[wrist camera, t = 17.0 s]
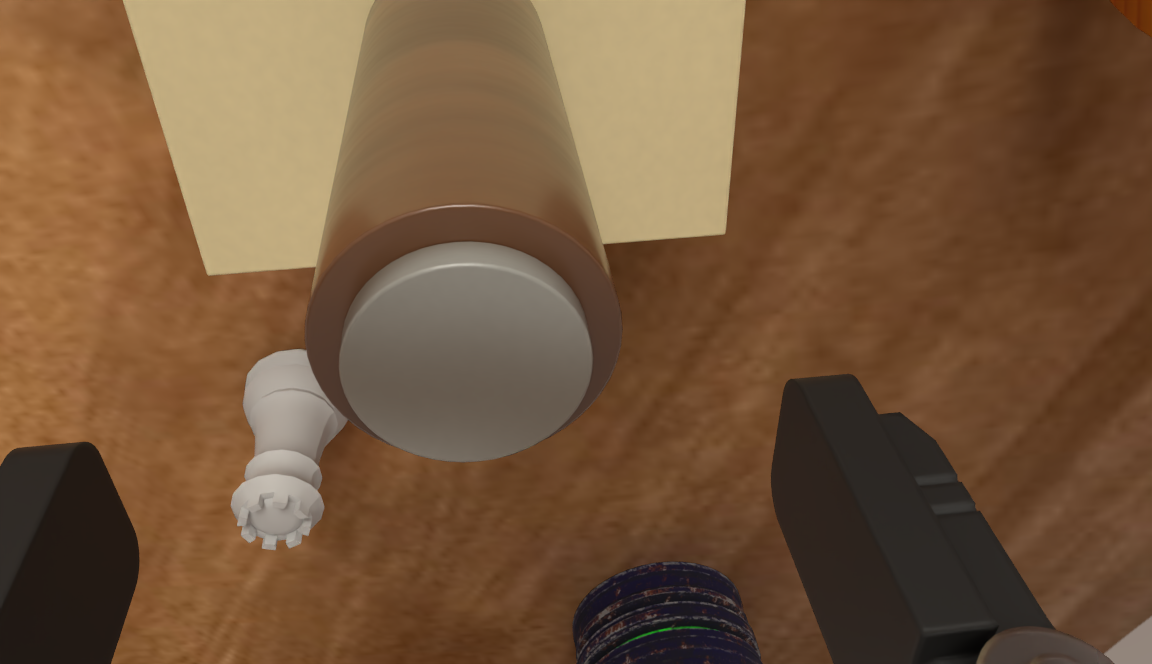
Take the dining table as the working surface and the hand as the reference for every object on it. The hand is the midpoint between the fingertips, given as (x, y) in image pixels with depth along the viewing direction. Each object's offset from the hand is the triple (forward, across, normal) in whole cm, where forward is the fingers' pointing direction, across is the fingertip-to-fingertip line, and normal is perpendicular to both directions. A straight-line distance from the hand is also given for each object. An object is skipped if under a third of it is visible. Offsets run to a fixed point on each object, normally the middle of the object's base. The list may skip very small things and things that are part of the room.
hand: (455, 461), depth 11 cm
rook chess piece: (+24, +8, +17) cm, 30 cm away
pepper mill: (+14, 0, 0) cm, 14 cm away
